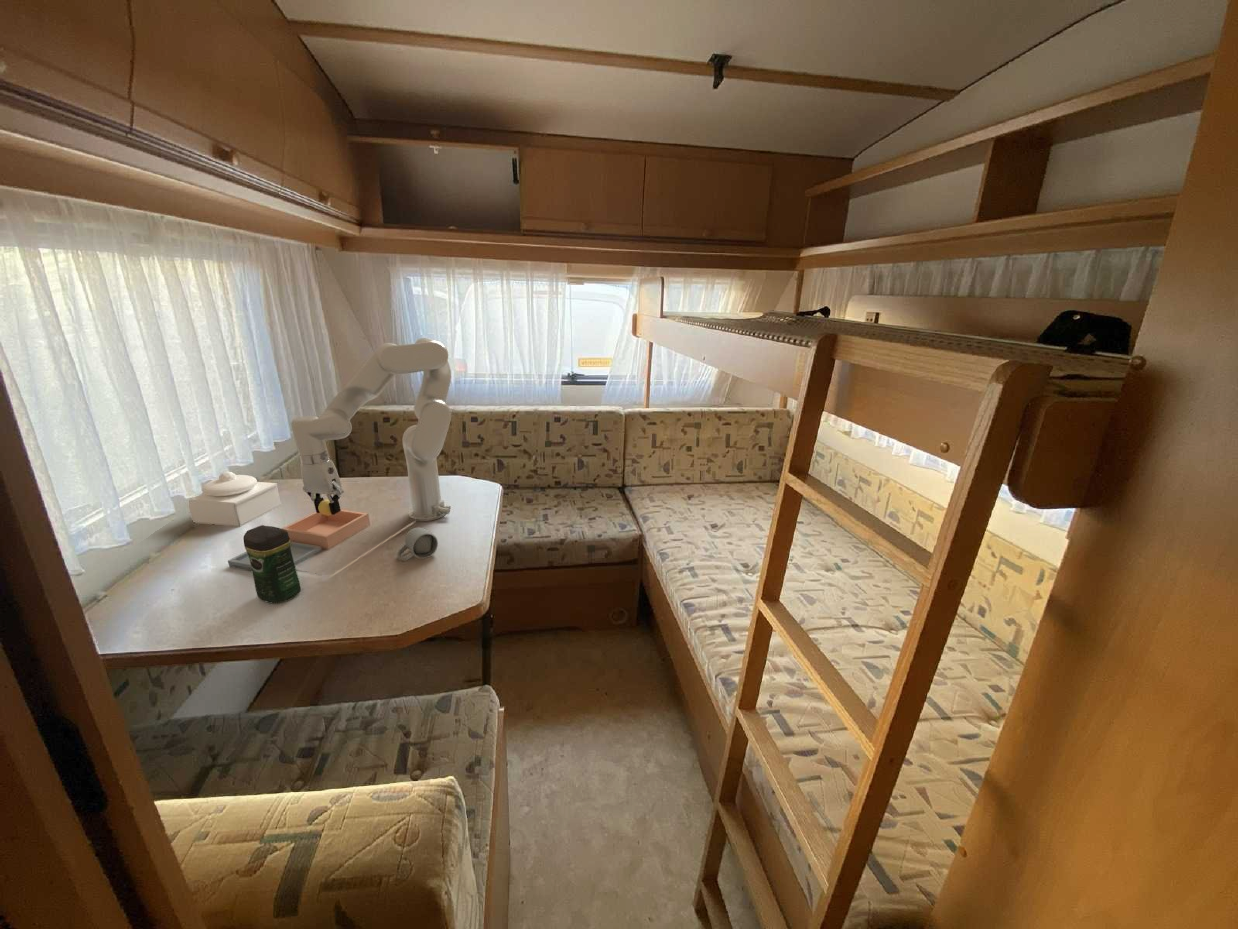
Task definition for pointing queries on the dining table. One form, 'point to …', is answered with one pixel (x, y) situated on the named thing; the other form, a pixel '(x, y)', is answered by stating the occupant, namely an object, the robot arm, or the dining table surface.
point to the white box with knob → (233, 500)
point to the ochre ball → (324, 507)
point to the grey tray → (297, 550)
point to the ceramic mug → (418, 544)
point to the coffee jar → (272, 563)
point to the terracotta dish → (327, 528)
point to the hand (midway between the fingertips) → (328, 511)
